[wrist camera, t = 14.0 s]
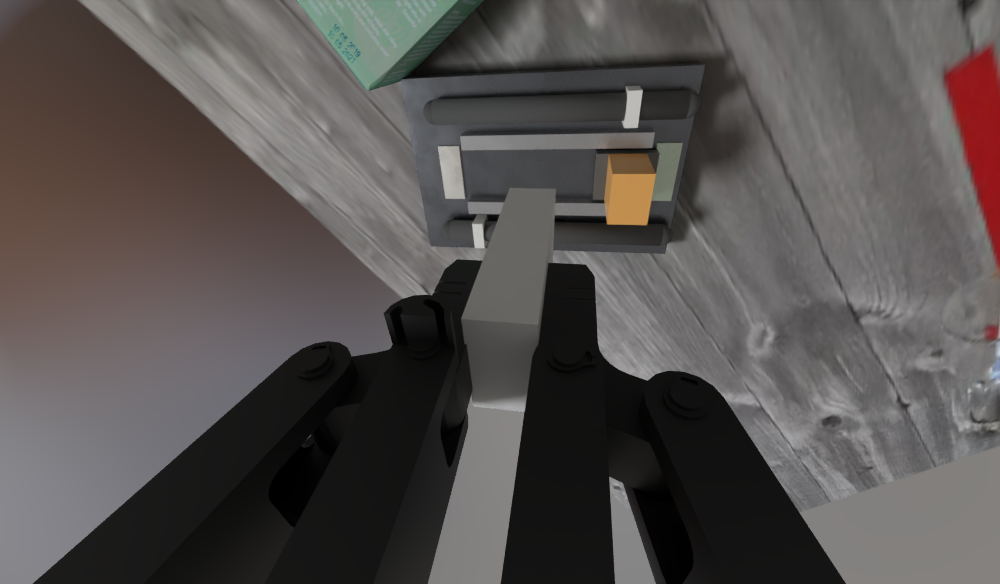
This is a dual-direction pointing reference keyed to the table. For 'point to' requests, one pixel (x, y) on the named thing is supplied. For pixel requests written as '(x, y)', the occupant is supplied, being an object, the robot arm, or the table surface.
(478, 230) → the pair of grey rails
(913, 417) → the table surface
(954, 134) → the table surface
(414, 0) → the box
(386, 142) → the table surface
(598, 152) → the orange rectangular block
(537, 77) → the panel
